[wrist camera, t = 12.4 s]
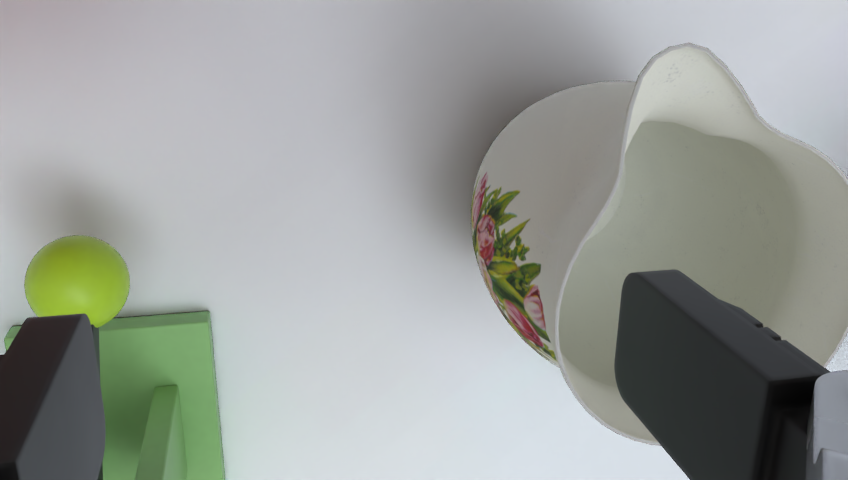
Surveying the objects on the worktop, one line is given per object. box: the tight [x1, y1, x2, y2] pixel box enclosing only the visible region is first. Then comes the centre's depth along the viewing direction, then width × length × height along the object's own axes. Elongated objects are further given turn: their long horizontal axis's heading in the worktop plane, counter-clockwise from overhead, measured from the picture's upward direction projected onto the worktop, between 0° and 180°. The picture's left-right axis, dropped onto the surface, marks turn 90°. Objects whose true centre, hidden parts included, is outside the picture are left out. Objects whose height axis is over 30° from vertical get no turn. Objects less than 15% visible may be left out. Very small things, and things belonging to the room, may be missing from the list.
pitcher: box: [471, 43, 848, 446], centre depth 30 cm, size 11×18×14 cm, turn 20°
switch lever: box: [24, 235, 130, 480], centre depth 27 cm, size 13×3×3 cm, turn 179°
